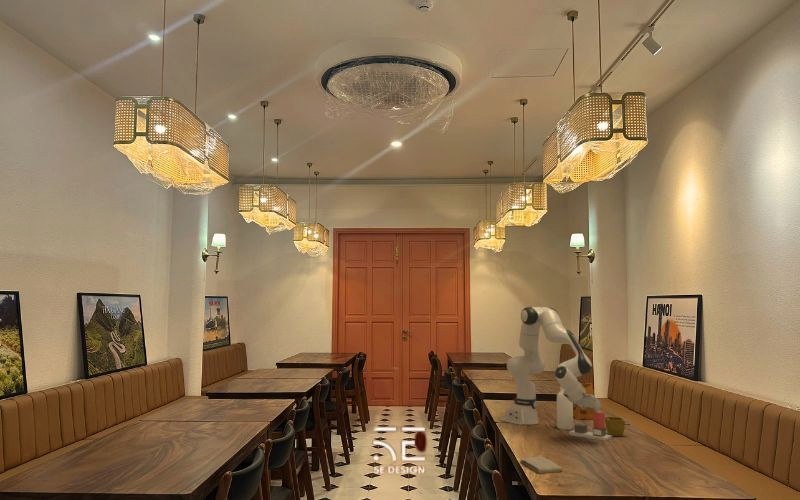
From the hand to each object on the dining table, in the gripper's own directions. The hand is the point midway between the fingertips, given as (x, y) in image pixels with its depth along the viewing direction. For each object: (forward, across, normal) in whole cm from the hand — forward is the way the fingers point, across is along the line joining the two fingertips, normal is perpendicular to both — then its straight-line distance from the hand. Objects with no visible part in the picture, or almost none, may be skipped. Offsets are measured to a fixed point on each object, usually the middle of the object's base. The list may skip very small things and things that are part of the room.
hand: (591, 409), depth 294 cm
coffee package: (+36, +42, -14) cm, 56 cm away
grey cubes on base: (+13, +4, +8) cm, 16 cm away
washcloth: (-31, -29, +52) cm, 67 cm away
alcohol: (+14, +24, +8) cm, 29 cm away
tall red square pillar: (+10, 0, +3) cm, 11 cm away
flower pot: (+24, +1, -2) cm, 24 cm away
